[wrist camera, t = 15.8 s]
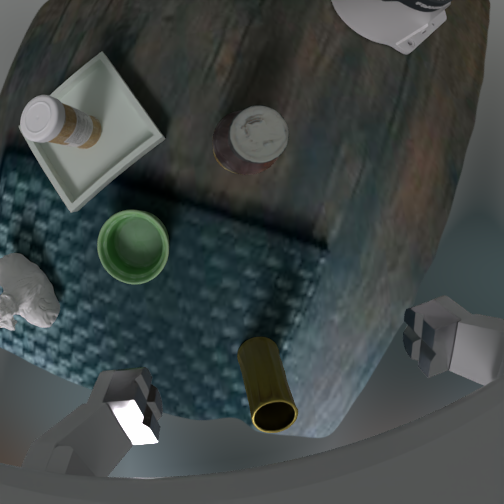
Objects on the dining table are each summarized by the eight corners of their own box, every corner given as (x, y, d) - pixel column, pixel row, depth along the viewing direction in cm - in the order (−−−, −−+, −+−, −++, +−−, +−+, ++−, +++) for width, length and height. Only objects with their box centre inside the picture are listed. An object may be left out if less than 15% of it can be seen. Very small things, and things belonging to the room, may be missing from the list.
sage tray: (107, 57, 34) (102, 51, 32) (165, 138, 38) (162, 136, 36) (27, 128, 35) (18, 126, 32) (78, 210, 39) (71, 212, 36)
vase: (259, 377, 47) (276, 442, 34) (228, 357, 46) (236, 422, 32) (286, 350, 47) (313, 411, 33) (256, 328, 45) (274, 388, 32)
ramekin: (172, 205, 40) (167, 209, 36) (174, 274, 42) (170, 284, 38) (106, 207, 39) (94, 210, 35) (110, 273, 41) (100, 284, 37)
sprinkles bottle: (65, 136, 35) (11, 124, 22) (87, 108, 35) (38, 85, 22) (87, 156, 36) (37, 150, 23) (109, 128, 36) (66, 109, 23)
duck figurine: (19, 251, 41) (-32, 294, 32) (25, 232, 36) (-35, 280, 28) (64, 311, 44) (18, 359, 35) (76, 301, 39) (22, 356, 31)
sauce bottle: (217, 120, 38) (222, 72, 19) (266, 129, 39) (312, 91, 20) (208, 171, 40) (204, 166, 20) (257, 179, 41) (297, 182, 21)
